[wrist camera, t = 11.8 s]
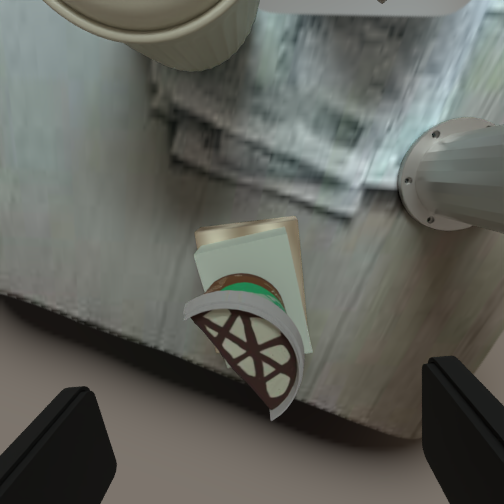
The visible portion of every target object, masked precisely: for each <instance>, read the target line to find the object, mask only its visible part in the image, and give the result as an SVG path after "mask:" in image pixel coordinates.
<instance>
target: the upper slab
mask: <svg viewBox="0 0 504 504" xmlns="http://www.w3.org/2000/svg"><path fill="white" fill-rule="evenodd" d="M194 258H195V262H196V265H197V268H198V272H199V275H200V278H201V282H202V285H203V288H204V292H206V291H207V289H208V288H209V287H210V286H211V285H212V284H213V282H215V281H216V280H218V279H220V278H222V277H224V276H227V275H231V274H236V273H248V274H253V275H256V276H259V277H261V278H263V279H265V280H267V281H268V282H270V283H271V284H272V285H273V286H274V287H275V288H276V289H277V290H278V292H279V294H280V295H281V298H282V300H283V303H284V306H285V309H286V313H287V315H288V316H289V317H290V318H291V319H292V321H293V322H294V324H295V325H296V327H297V329H298V331H299V333H300V335H301V338H302V341H303V345H304V353H305V354H306V353H312V347H311V342H310V338H309V333H308V328H307V324H306V319H305V315H304V310H303V305H302V301H301V296H300V292H299V287H298V282H297V278H296V273H295V268H294V264H293V259H292V255H291V250H290V245H289V241H288V236H287V232H286V229H285V227H281V228H277V229H272V230H268V231H264V232H259V233H255V234H251V235H246V236H242V237H237V238H233V239H229V240H224V241H220V242H216V243H211V244H207V245H202V246H201V247H200V248H199V249H198V250H197V251H196V252H195V254H194ZM225 362H226V366H227V368H231V367H230V365H229V364H228V363H227V361H226V360H225Z"/></svg>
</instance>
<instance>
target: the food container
mask: <svg viewBox="0 0 504 504" xmlns="http://www.w3.org/2000/svg"><path fill="white" fill-rule="evenodd" d="M183 314H184V315H185V317H184V319H183V321H185V320H186V319H188V318H191V319H192V320H193V321H194V323H195V324H196V325H197V326H199V328H200V329H201V330H202V331H203V332H204V333H205V334H206V335H207V337H208V338H209V339H210V340H211V341H212V343H213V344H214V345H215V347H216V348H217V349H218V351H219V352H220V353H221V355H222V356H223V357H224V359H225V360H226V361H227V363H228V364H229V365H230V367H231V368H232V369H233V370H234V371H235V372H236V373H237V374H238V375H239V376H240V377H241V378H242V379H243V380H244V381H245V382H246V383H247V384H248V385H249V386H250V387H251V388H252V389H253V390H254V391H255V392H256V393H257V395H258V396H259V397H260V398H261V399H262V400H263V401H264V403H265V404H266V405H267V406H268V407H269V409H270V417H271V421H272V420H274V419H275V418H276V417H278V416H279V415H280V414H282V413H283V412H284V411H285V410H286V409H287V408H288V406H289V405H290V404H291V402H292V400H293V399H294V397H295V395H296V393H297V391H298V389H299V387H300V384H301V380H302V375H303V369H304V361H305V353H304V345H303V341H302V338H301V335H300V333H299V331H298V329H297V327H296V325H295V324H294V322H293V321H292V319H291V318H290V317H289V316H288V315H287V313H286V309H285V306H284V303H283V300H282V298H281V295H280V294H279V292H278V290H277V289H276V288H275V287H274V286H273V285H272V284H271V283H270V282H268V281H267V280H265V279H263V278H261V277H259V276H256V275H253V274H248V273H236V274H231V275H227V276H224V277H222V278H220V279H218V280H216V281H215V282H213V284H212V285H211V286H210V287H209V288H208V289H207V291H206V292H205V293H204V294H203V295H201V296H199V297H196V298H194V299H192V300H190V301H189V302H187V303H186V304H185V308H184V312H183Z"/></svg>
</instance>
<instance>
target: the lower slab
mask: <svg viewBox="0 0 504 504" xmlns="http://www.w3.org/2000/svg"><path fill="white" fill-rule="evenodd" d="M281 227H285V229H286V232H287V236H288V241H289V245H290V250H291V255H292V259H293V264H294V268H295V273H296V278H297V282H298V287H299V292H300V296H301V301H302V305H303V310H304V315H305V319H306V324H307V317H306V306H305V295H304V284H303V273H302V262H301V251H300V240H299V229H298V220H297V218H296V217H295V216H290V217H282V218H274V219H266V220H257V221H249V222H241V223H232V224H224V225H216V226H208V227H200V228H199V229H198V230H197V231H196V232H195V239H196V244H197V250H198V249H199V248H200V247H201V246H202V245H207V244H211V243H216V242H220V241H224V240H229V239H233V238H237V237H242V236H246V235H251V234H255V233H259V232H264V231H268V230H272V229H277V228H281ZM215 351H216V353H220V352H219V351H218V349H217V348H216V347H215Z"/></svg>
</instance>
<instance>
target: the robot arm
mask: <svg viewBox="0 0 504 504" xmlns="http://www.w3.org/2000/svg"><path fill="white" fill-rule="evenodd" d="M432 133H433V134H434V136H433V137H432ZM405 179H407V182H406V183H405ZM398 187H399V195H400V198H401V201H402V204H403V205H404V207H405V209H406V210H407V212H408V213H409V214H410V215H411V216H412V217H413V218H414V219H415V220H417V221H418V222H419V223H421V224H423V225H425V226H428V227H430V228H433V229H437V230H443V231H455V230H461V229H465V228H469V227H471V226H478V227H481V228H485V229H489V230H492V231H496V232H500V233H503V234H504V124H503V125H498V126H496V125H495V124H493V123H491V122H489V121H487V120H484V119H479V118H475V117H462V118H456V119H451V120H448V121H445V122H442V123H439V124H437V125H435V126H433V127H431V128H430V129H429V130H427V131H426V132H424V133H423V134H422V135H421V136H420V137H419V138H418V139H417V140H416V141H415V142H414V143H413V144H412V146H411V147H410V148H409V150H408V151H407V153H406V155H405V157H404V159H403V161H402V164H401V168H400V171H399V179H398ZM428 217H429V219H428V221H427V218H428ZM422 446H423V450H424V454H425V457H426V459H427V462H428V463H429V465H430V467H431V469H432V471H433V473H434V475H435V477H436V479H437V480H438V482H439V484H440V486H441V488H442V490H443V492H444V494H445V495H446V497H447V499H448V501H449V503H450V504H504V406H503V405H502V404H501V403H500V402H499V401H498V400H497V399H496V398H495V397H494V396H493V395H492V394H491V393H490V391H488V389H486V387H485V386H484V385H483V384H482V383H481V382H480V381H479V380H478V379H477V378H476V377H475V376H474V375H473V374H472V373H471V372H470V371H469V370H468V369H467V368H466V367H465V366H464V365H463V364H462V363H461V362H460V361H459V360H458V359H457V358H456V357H455V356H443V357H431V358H429V360H428V364H423V366H422ZM116 467H117V463H116V459H115V456H114V453H113V450H112V446H111V443H110V440H109V437H108V434H107V431H106V428H105V425H104V422H103V419H102V415H101V412H100V409H99V406H98V403H97V400H96V397H95V394H94V393H93V392H92V391H90V390H89V388H88V387H85V386H82V387H69V388H65V389H63V390H62V391H61V392H60V393H59V394H58V395H57V396H56V397H55V398H54V399H53V400H52V401H51V403H50V404H49V405H48V406H47V407H46V408H45V409H44V410H43V411H42V412H41V413H40V414H39V415H38V416H37V417H36V419H34V421H33V422H32V423H31V424H30V425H29V426H28V427H27V428H26V429H25V430H24V431H23V432H22V433H21V435H19V436H18V438H17V439H16V440H15V441H14V442H13V443H12V444H11V445H10V446H9V447H8V448H7V449H6V450H5V451H4V452H3V453H2V454H1V455H0V504H100V503H101V501H102V499H103V497H104V495H105V493H106V492H107V490H108V488H109V486H110V484H111V482H112V480H113V478H114V475H115V473H116Z"/></svg>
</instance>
